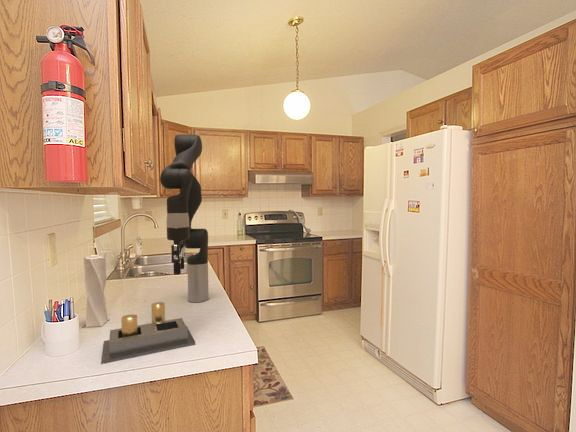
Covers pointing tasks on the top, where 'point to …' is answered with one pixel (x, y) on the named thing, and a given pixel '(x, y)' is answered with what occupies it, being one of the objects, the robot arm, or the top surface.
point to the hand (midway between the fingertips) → (179, 271)
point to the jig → (145, 338)
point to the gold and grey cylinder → (158, 312)
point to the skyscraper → (95, 290)
